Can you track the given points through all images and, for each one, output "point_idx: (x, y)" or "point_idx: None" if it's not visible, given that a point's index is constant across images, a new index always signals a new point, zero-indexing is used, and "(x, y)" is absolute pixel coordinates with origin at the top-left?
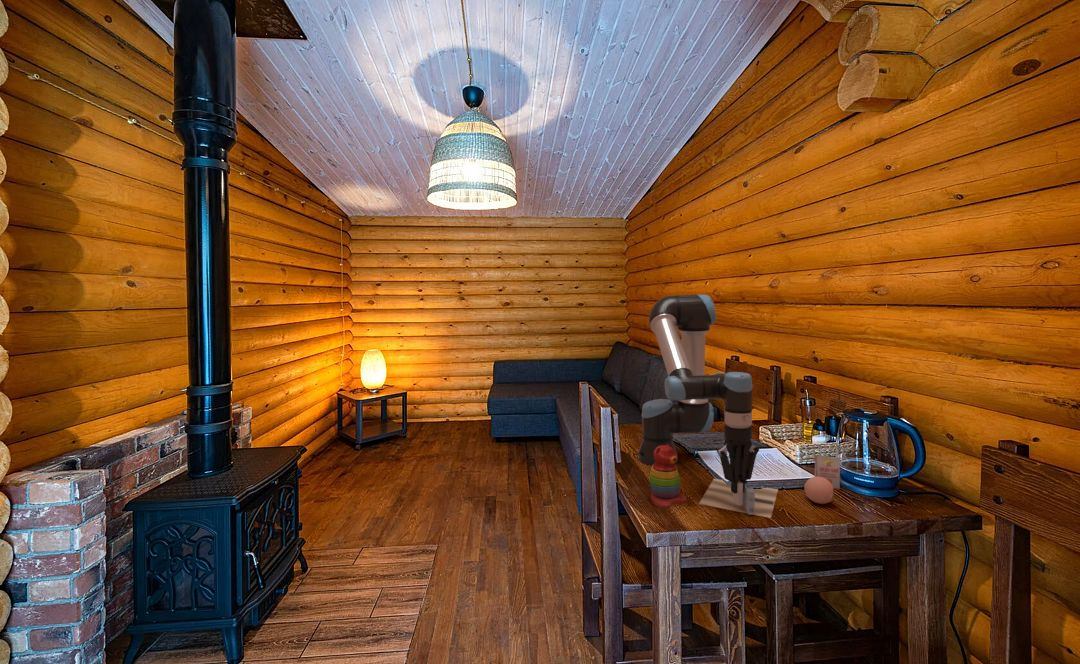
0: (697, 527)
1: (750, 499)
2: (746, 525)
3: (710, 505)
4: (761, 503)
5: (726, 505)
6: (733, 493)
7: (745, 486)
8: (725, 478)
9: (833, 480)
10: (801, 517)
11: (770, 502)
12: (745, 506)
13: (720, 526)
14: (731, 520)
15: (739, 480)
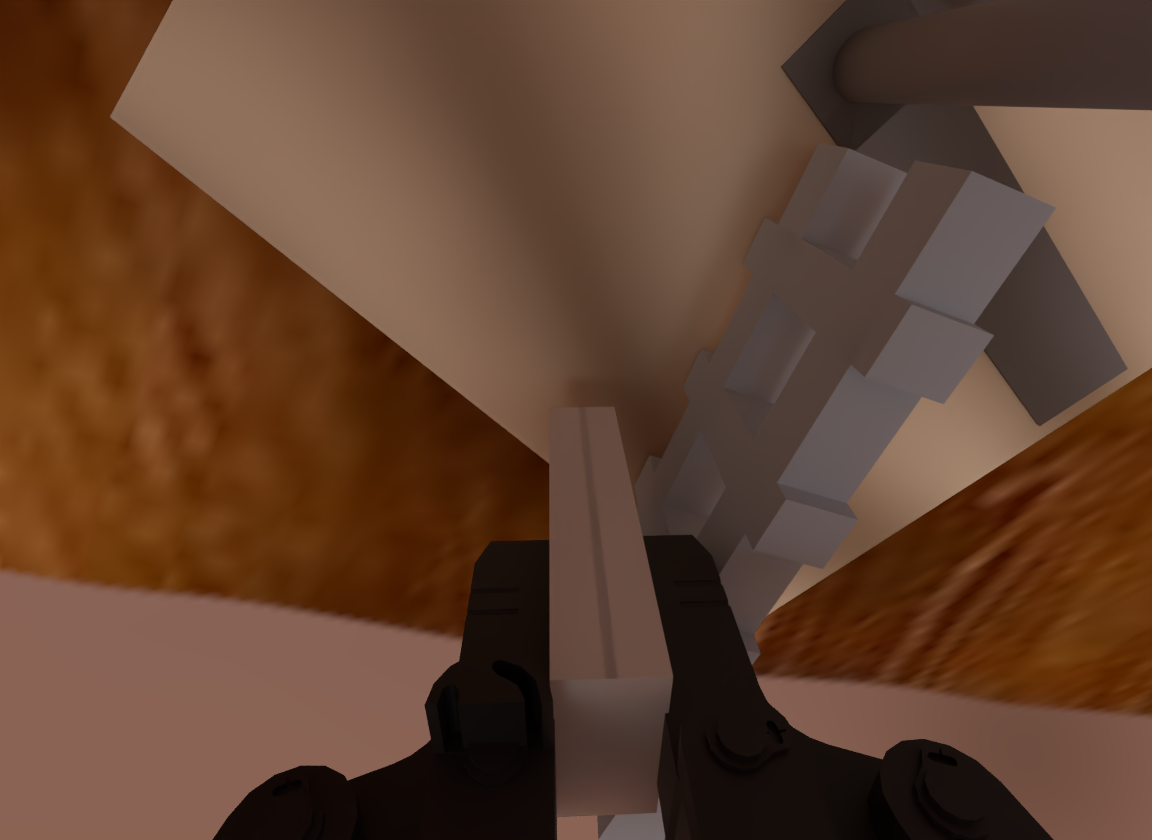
0: (14, 570)
1: None
2: None
3: (279, 233)
4: None
5: (502, 298)
6: (549, 487)
7: (832, 539)
8: (249, 822)
9: None
10: (1015, 627)
11: (1066, 386)
12: (644, 496)
13: (246, 598)
14: (399, 542)
15: (662, 770)
